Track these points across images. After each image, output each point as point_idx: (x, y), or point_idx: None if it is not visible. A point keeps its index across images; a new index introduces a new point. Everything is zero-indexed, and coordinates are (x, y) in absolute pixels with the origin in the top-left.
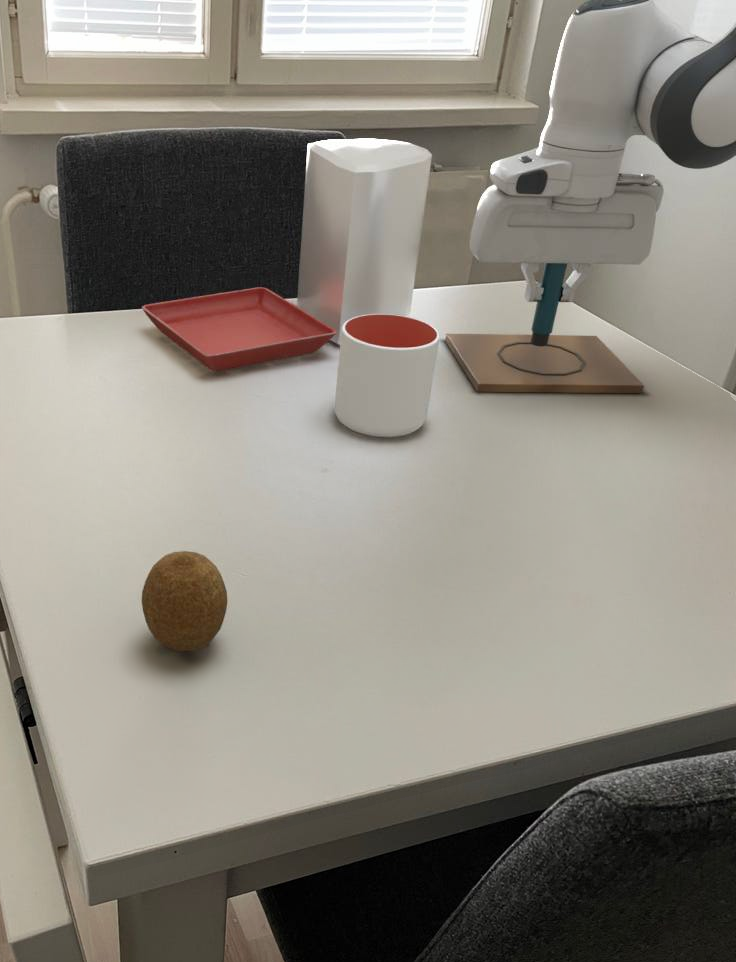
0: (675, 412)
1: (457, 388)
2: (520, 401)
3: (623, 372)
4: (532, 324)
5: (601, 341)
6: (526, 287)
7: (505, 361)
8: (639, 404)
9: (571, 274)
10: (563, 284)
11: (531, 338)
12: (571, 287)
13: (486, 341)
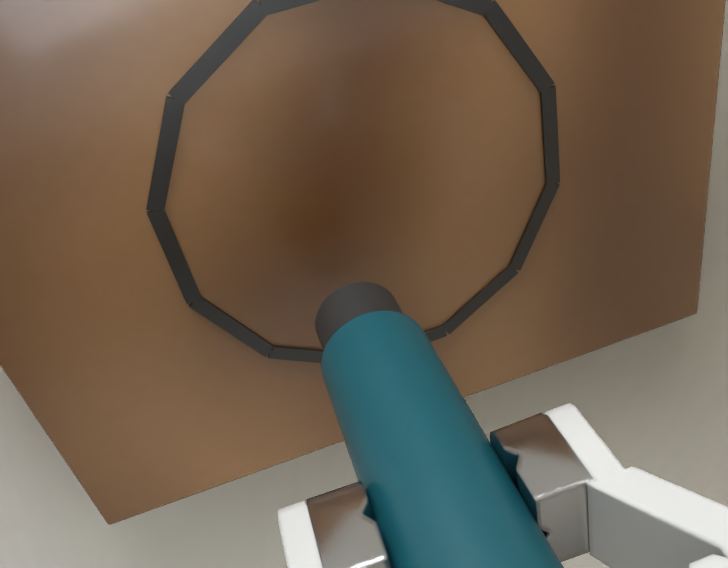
0: (714, 384)
1: (28, 501)
2: (267, 498)
3: (674, 227)
4: (326, 385)
5: None
6: (287, 566)
7: (198, 301)
8: (636, 374)
9: (657, 517)
10: (561, 514)
11: (320, 341)
12: (595, 555)
13: (60, 43)
